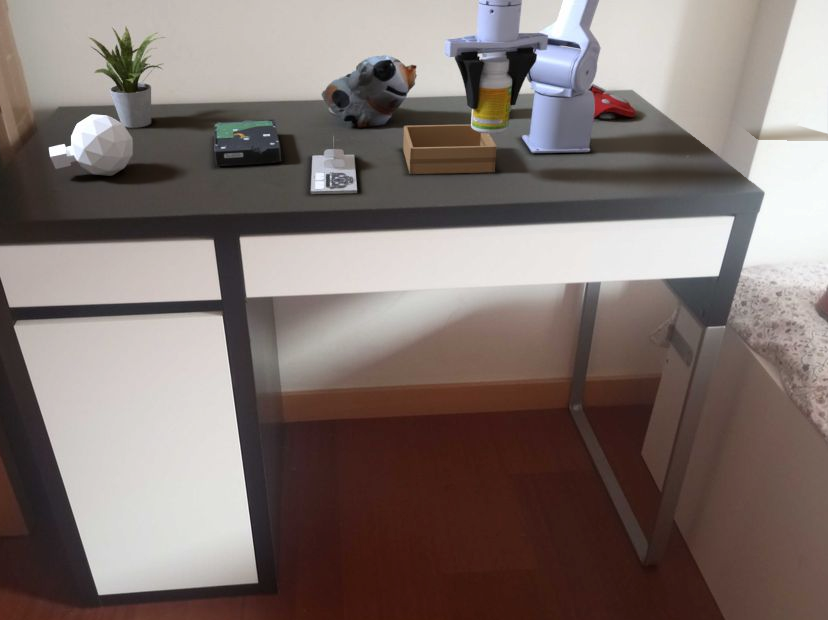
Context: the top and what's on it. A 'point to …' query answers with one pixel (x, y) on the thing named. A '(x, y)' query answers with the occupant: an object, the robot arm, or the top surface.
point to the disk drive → (246, 143)
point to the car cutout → (333, 173)
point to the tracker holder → (610, 103)
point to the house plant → (129, 80)
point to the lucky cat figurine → (370, 91)
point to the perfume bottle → (96, 146)
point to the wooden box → (448, 149)
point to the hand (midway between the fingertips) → (491, 105)
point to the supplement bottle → (493, 97)
